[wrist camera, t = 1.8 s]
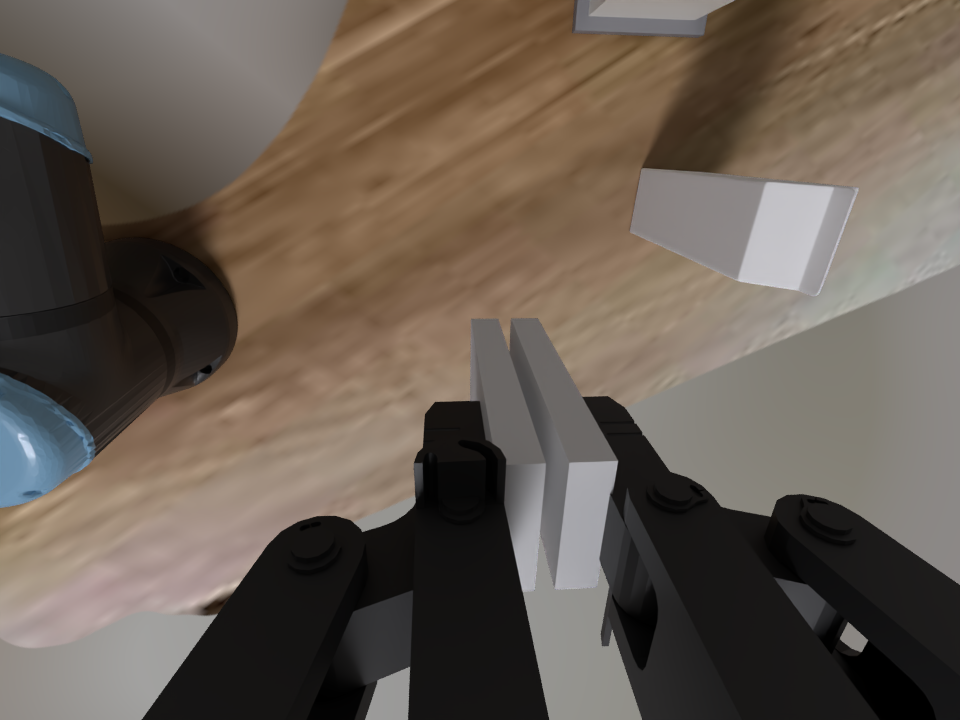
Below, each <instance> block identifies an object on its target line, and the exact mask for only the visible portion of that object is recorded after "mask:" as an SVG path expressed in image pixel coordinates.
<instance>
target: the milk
mask: <svg viewBox="0 0 960 720" xmlns="http://www.w3.org/2000/svg"><path fill="white" fill-rule="evenodd" d="M858 190H859V188H858V187H850V186H840V185H829V184H819V183H809V182H799V181H789V180H779V179H768V178H758V177H748V176H738V175H728V174H718V173H707V172H695V171H680V170H665V169H650V168H642V169H641V174H640V179H639V185H638V190H637V195H636V200H635V206H634V211H633V216H632V222H631V227H630V232H631V233H633V234H635V235H638V236H640V237H642V238H644V239H646V240H649V241H651V242H653V243H655V244H657V245H660V246H662V247H664V248H666V249H668V250H671V251H673V252H675V253H677V254H679V255H682V256H684V257H686V258H688V259H690V260H693V261H695V262H697V263H699V264H701V265H704V266H706V267H708V268H710V269H712V270H715V271H717V272H719V273H721V274H723V275H726V276H728V277H730V278H732V279H734V280H737V281H740V282H746V283H752V284H759V285H765V286H772V287H779V288H785V289H792V290H798V291H801V292H803V293H806V294H808V295H811V296H816V295H818V294H819V293H820V291H821V288H822V286H823V284H824V282H825V279H826V276H827V274H828V271H829V268H830V266H831V263H832V260H833V257H834V255H835V252H836V249H837V247H838V244H839V241H840V239H841V236H842V233H843V231H844V228H845V225H846V222H847V220H848V217H849V214H850V212H851V209H852V206H853V204H854V201H855V198H856V196H857V193H858Z"/></svg>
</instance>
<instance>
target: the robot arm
mask: <svg viewBox="0 0 960 720" xmlns="http://www.w3.org/2000/svg"><path fill="white" fill-rule="evenodd" d="M92 163H93V159H92V155H91V153H90V152H89V151H88V150H87V149H86V146H85V142H84V138H83V134H82V130H81V126H80V122H79V118H78V114H77V109H76V106H75V103H74V101H73V99H72V97H71V95H70V94H69V92H68V91H67V90H66V88H65V87H64V86H63V85H62V84H61V83H60V82H58V80H57V79H55V78H54V77H52V76H51V75H49V74H48V73H46V72H45V71H43V70H41V69H39V68H37V67H35V66H33V65H31V64H29V63H26V62H24V61H21V60H19V59H16V58H13V57H10V56H8V55H5V54H1V53H0V508H2V507H9V506H14V505H19V504H23V503H26V502H29V501H32V500H34V499H37V498H39V497H41V496H43V495H45V494H47V493H48V492H50V491H51V490H53V489H54V488H55V487H57V486H58V485H59V484H60V483H62V482H63V481H64V480H66V479H67V478H68V477H69V476H71V475H72V474H73V473H76V472H78V471H80V470H82V469H83V468H84V467H86V466H87V465H88V464H89V463H90V462H91V461H92V460H93V458H94V457H96V456H97V455H98V454H99V453H100V452H101V451H102V450H103V449H104V448H105V447H106V446H107V445H108V444H109V443H111V442H112V441H113V440H114V439H115V438H116V437H117V436H118V435H119V434H120V433H121V432H122V431H123V430H124V429H126V428H127V427H128V426H129V425H130V424H131V423H132V422H133V421H134V420H135V419H136V418H137V417H138V416H139V415H140V414H142V413H143V412H144V411H145V410H146V409H147V408H148V407H149V406H150V405H151V404H152V403H153V402H154V401H155V400H156V399H158V398H159V397H162V396H165V395H169V394H172V393H175V392H178V391H182V390H185V389H188V388H191V387H193V386H196V385H198V384H200V383H201V382H203V381H205V380H206V379H208V378H209V377H210V376H211V375H213V374H214V373H215V372H216V371H217V370H218V369H219V368H220V367H221V366H222V365H223V364H224V363H225V361H226V360H227V359H228V357H229V356H230V354H231V352H232V350H233V348H234V345H235V341H236V336H237V319H236V314H235V310H234V306H233V304H232V301H231V299H230V297H229V295H228V293H227V291H226V289H225V288H224V286H223V285H222V283H221V282H220V281H219V279H218V278H217V277H216V276H215V275H214V273H213V272H212V271H211V270H210V269H209V268H208V267H206V266H205V265H204V264H203V263H202V262H201V261H199V260H198V259H197V258H195V257H194V256H192V255H191V254H189V253H187V252H186V251H184V250H182V249H180V248H178V247H175V246H173V245H171V244H168V243H165V242H162V241H158V240H153V239H148V238H122V239H116V240H113V241H109V242H106V243H105V242H104V237H103V232H102V227H101V222H100V217H99V212H98V206H97V201H96V197H95V191H94V186H93V181H92V176H91V170H90V165H89V164H92ZM414 477H415V497H416V503H415V505H414V507H413V508H412V509H411V510H410V511H408V512H407V514H405V515H404V516H402V517H401V518H399V519H398V520H396V521H394V522H392V523H389V524H387V525H384V526H381V527H378V528H375V529H371V530H368V531H365V532H362V531H361V529H360V528H359V527H358V526H357V525H355V524H354V523H353V522H352V521H351V520H348V519H344V518H341V517H337V516H316V517H313V518H309V519H306V520H303V521H299V522H297V523H295V524H293V525H292V526H290V527H288V528H287V529H285V530H283V531H281V532H280V533H279V534H278V535H277V536H276V537H275V538H274V539H273V540H272V541H271V542H270V543H269V544H268V545H267V547H266V548H265V550H264V551H263V552H262V554H261V555H260V557H259V558H258V559H257V561H256V562H255V563H254V565H253V566H252V568H251V569H250V570H249V572H248V573H247V575H246V576H245V577H244V579H243V580H242V581H241V583H240V584H239V586H238V587H237V588H236V590H235V591H234V593H233V594H232V595H231V597H230V598H229V599H228V601H227V602H226V604H225V605H224V606H223V608H222V609H221V611H220V612H219V613H218V615H217V616H216V618H215V619H214V620H213V622H212V623H211V624H210V626H209V627H208V629H207V630H206V631H205V633H204V634H203V636H202V637H201V638H200V640H199V641H198V642H197V644H196V645H195V647H194V648H193V650H192V651H191V652H190V654H189V655H188V657H187V658H186V659H185V661H184V662H183V663H182V665H181V666H180V667H179V669H178V670H177V672H176V673H175V674H174V676H173V677H172V679H171V680H170V681H169V683H168V684H167V686H166V687H165V688H164V690H163V691H162V693H161V694H160V695H159V697H158V698H157V699H156V701H155V702H154V703H153V705H152V706H151V708H150V709H149V711H148V712H147V713H146V715H145V716H144V717H143V719H142V720H365V718H366V715H367V712H368V709H369V706H370V703H371V700H372V697H373V694H374V691H375V688H376V685H377V680H379V679H381V678H384V677H386V676H389V675H391V674H393V673H396V672H398V671H400V670H403V669H405V668H408V667H410V685H409V712H408V720H549V717H548V712H547V707H546V702H545V697H544V693H543V688H542V683H541V678H540V674H539V668H538V664H537V659H536V654H535V650H534V645H533V640H532V635H531V630H530V625H529V621H528V616H527V611H526V606H525V602H524V596H523V592H522V591H534V590H535V580H536V569H537V557H538V546H539V536H540V534H541V538H542V541H543V545H544V549H545V553H546V557H547V561H548V565H549V568H550V573H551V577H552V581H553V585H554V588H555V590H556V589H557V590H558V589H576V588H592V587H593V588H595V587H597V584H598V578H599V572H600V566H602V568H603V571H604V573H605V576H606V579H607V581H608V584H609V591H608V597H607V603H606V608H605V613H604V619H603V624H602V630H601V640H602V646H609V641H610V636H611V631H612V630H613V633H614V636H615V639H616V641H617V645H618V648H619V651H620V654H621V656H622V660H623V663H624V666H625V669H626V672H627V675H628V678H629V681H630V684H631V687H632V690H633V693H634V696H635V699H636V702H637V705H638V708H639V711H640V714H641V717H642V720H960V585H959V584H958V583H956V582H955V581H953V580H952V579H950V578H949V577H947V576H946V575H945V574H943V573H942V572H940V571H939V570H937V569H936V568H934V567H933V566H932V565H930V564H929V563H927V562H926V561H924V560H923V559H921V558H920V557H919V556H917V555H916V554H914V553H913V552H911V551H910V550H908V549H907V548H905V547H904V546H903V545H901V544H900V543H898V542H897V541H896V540H894V539H892V538H891V537H890V536H888V535H887V534H885V533H884V532H882V531H881V530H879V529H878V528H877V527H875V526H874V525H872V524H871V523H870V522H868V521H867V520H865V519H864V518H862V517H861V516H859V515H857V514H856V513H854V512H852V511H851V510H849V509H847V508H845V507H843V506H841V505H839V504H837V503H834V502H831V501H829V500H827V499H824V498H820V497H814V496H809V495H804V494H799V495H786V496H784V497H782V498H780V499H778V500H777V502H776V504H775V507H774V510H773V513H772V516H771V517H769V516H763V515H758V514H752V513H747V512H742V511H736V510H731V509H727V508H723V507H721V506H720V505H719V504H718V502H717V501H716V500H715V498H714V497H713V496H712V495H711V494H710V493H709V492H708V491H707V490H706V489H705V488H704V487H703V486H702V485H700V484H698V483H696V482H695V481H693V480H691V479H689V478H687V477H684V476H681V475H678V474H675V473H672V472H670V471H669V470H668V468H667V467H666V465H665V464H664V463H663V461H662V460H661V458H660V457H659V456H658V454H657V453H656V451H655V450H654V448H653V447H652V446H651V444H650V443H649V441H648V440H647V439H646V437H645V436H644V435H642V431H641V430H640V428H639V427H638V426H637V424H634V420H633V419H632V417H631V416H630V414H629V413H628V412H627V410H626V409H625V407H623V406H622V405H620V404H619V403H617V402H616V401H614V400H613V399H611V398H610V397H608V396H599V397H582V396H581V394H580V392H579V391H578V389H577V387H576V385H575V383H574V382H573V380H572V378H571V376H570V375H569V373H568V371H567V369H566V368H565V366H564V364H563V362H562V360H561V359H560V357H559V355H558V353H557V352H556V350H555V348H554V346H553V344H552V343H551V341H550V339H549V337H548V336H547V334H546V332H545V330H544V328H543V327H542V325H541V323H540V321H539V320H538V318H517V319H511V329H510V351H509V350H508V347H507V344H506V341H505V338H504V335H503V332H502V329H501V326H500V323H499V320H498V319H471V370H470V401H454V402H435V403H434V404H433V405H432V406H431V408H430V409H429V410H428V411H427V412H426V414H425V422H424V439H423V448H422V449H421V450H420V451H419V452H418V453H417V456H416V459H415V461H414ZM848 622H849V623H850V624H851V625H853V627H855V628H856V629H857V630H858V631H859V632H860V633H861V634H862V635H863V636H864V637H865V638H867V639H868V642H867V644H866V646H865V647H864V649H863V651H862V652H859V651H856V650H854V649H851V648H850V647H849V646H847V645H846V644H845V643H843V642H842V641H841V640H840V637H841V635H842V633H843V631H844V629H845V627H846V625H847V623H848Z"/></svg>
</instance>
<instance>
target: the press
mask: <svg viewBox="0 0 960 720" xmlns="http://www.w3.org/2000/svg"><path fill="white" fill-rule="evenodd" d="M733 1H735V0H575V3H574V16H573V28H572V33H583V34H611V35H639V36H666V37H694V38H698V37H701V36H703V35H704V31H705V26H706V20H707V15H708V13H710V12H712V11H714V10H717V9H719V8H721V7H723V6H725V5H727V4H729V3H731V2H733Z"/></svg>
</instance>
